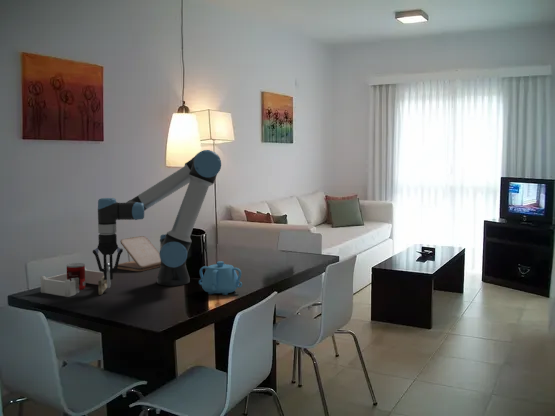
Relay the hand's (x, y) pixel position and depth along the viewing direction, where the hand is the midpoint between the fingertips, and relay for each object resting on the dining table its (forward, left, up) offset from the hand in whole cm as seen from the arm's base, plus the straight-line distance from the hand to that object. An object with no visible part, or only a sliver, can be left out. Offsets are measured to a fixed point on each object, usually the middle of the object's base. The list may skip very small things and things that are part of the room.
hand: (108, 287), depth 242 cm
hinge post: (+9, -8, -2) cm, 12 cm away
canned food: (+17, +3, -2) cm, 17 cm away
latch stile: (+11, +8, -2) cm, 14 cm away
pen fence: (+17, +3, -2) cm, 17 cm away
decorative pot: (-43, -23, -2) cm, 49 cm away
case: (+27, -49, -3) cm, 56 cm away
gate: (+3, 0, -2) cm, 3 cm away
